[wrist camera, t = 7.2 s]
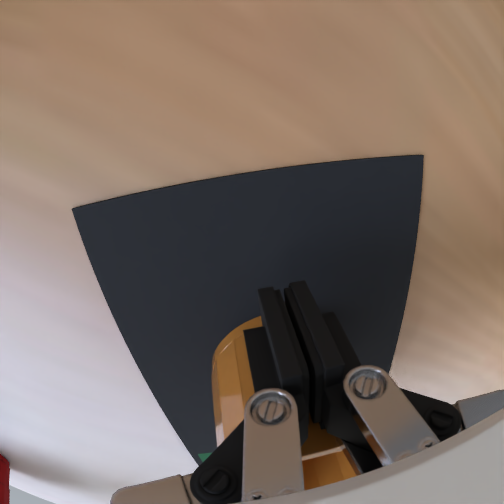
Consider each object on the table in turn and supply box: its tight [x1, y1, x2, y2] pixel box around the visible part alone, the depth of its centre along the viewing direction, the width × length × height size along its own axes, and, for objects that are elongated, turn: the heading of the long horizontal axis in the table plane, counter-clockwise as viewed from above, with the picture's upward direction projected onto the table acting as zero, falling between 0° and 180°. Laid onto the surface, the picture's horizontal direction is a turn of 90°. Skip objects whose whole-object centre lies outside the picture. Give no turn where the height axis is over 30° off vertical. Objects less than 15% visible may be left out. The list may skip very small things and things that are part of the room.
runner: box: [72, 155, 424, 466], centre depth 20 cm, size 34×14×1 cm, turn 7°
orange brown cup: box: [211, 316, 356, 491], centre depth 13 cm, size 7×7×7 cm
